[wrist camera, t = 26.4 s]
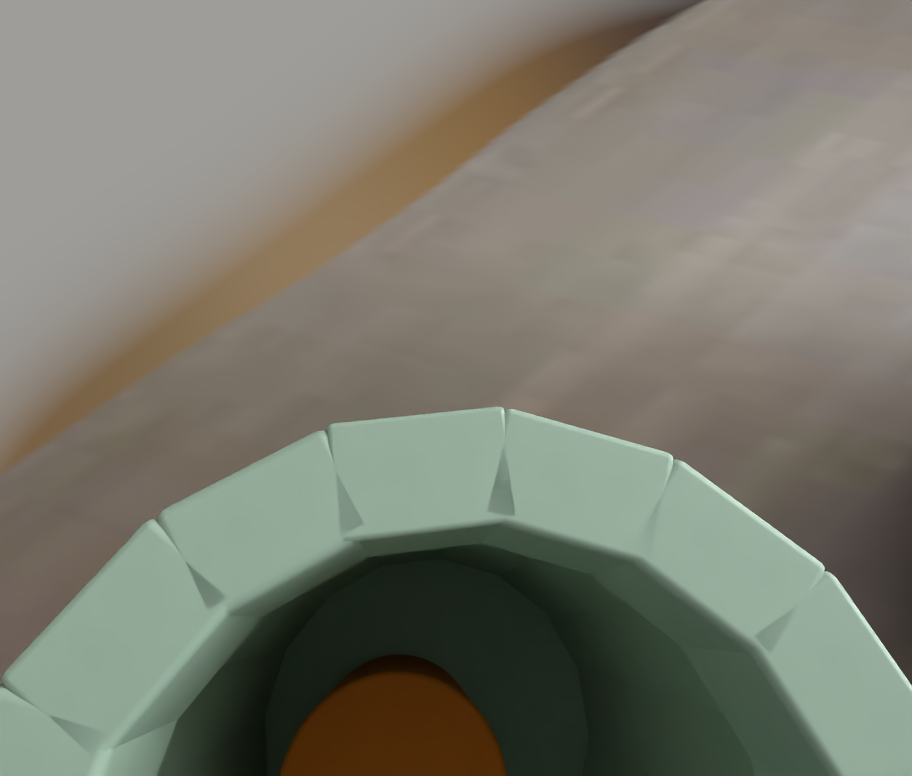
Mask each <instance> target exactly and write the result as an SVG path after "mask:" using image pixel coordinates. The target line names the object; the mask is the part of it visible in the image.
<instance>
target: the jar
mask: <svg viewBox="0 0 912 776" xmlns="http://www.w3.org/2000/svg"><path fill="white" fill-rule="evenodd" d="M824 569H825V567H824V566H823V565H822V563H821V562H820V561H818V560H817V559H816V558H814V557H813V556H812V555H810V554H809V553H807V552H806V551H805V550H803V549H802V548H801V547H799V546H798V545H796V544H795V543H794V542H792V541H791V540H790V539H788V538H787V537H786V536H784V535H783V534H781V533H780V532H779V531H777V530H776V529H775V528H773V527H772V526H771V525H769V524H768V523H766V522H765V521H764V520H762V519H761V518H760V517H758V516H757V515H756V514H754V513H753V512H751V511H750V510H749V509H747V508H746V507H745V506H743V505H742V504H741V503H739V502H738V501H736V500H735V499H734V498H732V497H731V496H730V495H728V494H727V493H726V492H724V491H723V490H721V489H720V488H719V487H717V486H716V485H715V484H713V483H712V482H710V481H709V480H708V479H706V478H705V477H704V476H702V475H701V474H700V473H698V472H697V471H695V470H694V469H693V468H691V467H690V466H689V465H687V464H686V463H685V462H683V461H680V460H676V459H675V460H673V456H672V455H670V454H669V453H667V452H664V451H660V450H657V449H653V448H650V447H646V446H642V445H639V444H635V443H632V442H628V441H625V440H621V439H618V438H614V437H610V436H607V435H603V434H600V433H596V432H593V431H589V430H586V429H582V428H578V427H575V426H571V425H568V424H564V423H561V422H557V421H554V420H550V419H546V418H543V417H539V416H536V415H532V414H529V413H525V412H521V411H518V410H514V409H507V410H505V411H504V409H503V408H501V407H489V408H480V409H470V410H460V411H450V412H441V413H431V414H421V415H412V416H402V417H392V418H382V419H373V420H363V421H353V422H343V423H334V424H331V425H329V426H328V427H327V430H326V431H315V432H313V433H311V434H309V435H308V436H306V437H304V438H302V439H300V440H298V441H296V442H294V443H292V444H290V445H288V446H286V447H284V448H282V449H280V450H278V451H276V452H274V453H272V454H270V455H268V456H266V457H264V458H263V459H261V460H259V461H257V462H255V463H253V464H251V465H249V466H247V467H245V468H243V469H241V470H239V471H237V472H235V473H233V474H231V475H229V476H227V477H225V478H223V479H221V480H219V481H218V482H216V483H214V484H212V485H210V486H208V487H206V488H204V489H202V490H200V491H198V492H196V493H194V494H192V495H190V496H188V497H186V498H184V499H182V500H180V501H178V502H176V503H175V504H173V505H171V506H169V507H167V508H165V509H164V510H163V511H162V512H161V513H160V514H159V515H158V520H154V519H151V520H149V521H147V522H145V523H144V524H143V525H142V526H141V527H140V528H139V529H138V530H137V531H136V532H135V533H134V534H133V535H132V536H131V537H130V539H129V540H128V541H127V542H126V543H125V544H124V545H123V546H122V547H121V548H120V549H119V550H118V551H117V552H116V553H115V555H114V556H113V557H112V558H111V559H110V560H109V561H108V562H107V563H106V564H105V565H104V566H103V567H102V568H101V570H100V571H99V572H98V573H97V574H96V575H95V576H94V577H93V578H92V579H91V580H90V581H89V582H88V583H87V584H86V586H85V587H84V588H83V589H82V590H81V591H80V592H79V593H78V594H77V595H76V596H75V597H74V598H73V599H72V600H71V602H70V603H69V604H68V605H67V606H66V607H65V608H64V609H63V610H62V611H61V612H60V613H59V614H58V615H57V616H56V618H55V619H54V620H53V621H52V622H51V623H50V624H49V625H48V626H47V627H46V628H45V629H44V630H43V631H42V632H41V634H40V635H39V636H38V637H37V638H36V639H35V640H34V641H33V642H32V643H31V644H30V645H29V646H28V647H27V648H26V650H25V651H24V652H23V653H22V654H21V655H20V656H19V657H18V658H17V659H16V660H15V661H14V662H13V663H12V664H11V666H10V667H9V668H8V669H7V670H6V671H5V673H4V675H3V677H2V678H1V680H2V682H3V685H0V776H280V771H281V767H282V764H283V761H284V758H285V755H286V752H287V750H288V748H289V746H290V744H291V742H292V739H293V737H294V736H295V734H296V732H297V731H298V729H299V728H300V726H301V724H302V723H303V721H304V720H305V719H306V718H307V716H308V715H309V714H310V713H311V711H312V710H313V709H314V708H315V707H316V706H317V705H318V704H319V703H320V702H321V701H322V700H323V699H324V698H325V697H326V696H327V695H328V694H329V693H330V692H331V691H332V690H333V689H334V688H335V687H336V686H337V685H338V684H339V683H340V682H341V681H342V680H343V679H344V678H345V677H346V676H347V675H348V674H349V673H351V672H352V671H353V670H354V669H356V668H357V667H359V666H361V665H362V664H364V663H366V662H368V661H371V660H373V659H375V658H379V657H383V656H387V655H396V654H397V655H411V656H417V657H420V658H423V659H426V660H428V661H430V662H433V663H435V664H436V665H438V666H439V667H441V668H442V669H444V670H445V671H446V672H447V673H449V674H450V675H451V676H452V677H453V678H454V679H455V681H456V682H457V683H458V684H459V685H460V686H461V688H462V689H463V690H464V692H465V693H466V694H467V695H468V697H469V698H470V699H471V701H472V702H473V703H474V704H475V706H476V707H477V708H478V709H479V711H480V712H481V713H482V715H483V716H484V718H485V719H486V721H487V722H488V724H489V725H490V727H491V729H492V731H493V733H494V735H495V737H496V739H497V741H498V744H499V747H500V749H501V752H502V755H503V759H504V763H505V768H506V772H507V776H912V685H911V684H910V682H909V681H908V680H907V678H906V677H905V675H904V674H903V672H902V671H901V670H900V668H899V667H898V665H897V664H896V662H895V661H894V660H893V658H892V657H891V655H890V654H889V652H888V651H887V650H886V648H885V647H884V645H883V644H882V642H881V641H880V640H879V638H878V637H877V635H876V634H875V632H874V631H873V630H872V628H871V627H870V625H869V624H868V622H867V621H866V620H865V618H864V617H863V615H862V614H861V612H860V611H859V610H858V608H857V607H856V605H855V604H854V602H853V601H852V600H851V598H850V597H849V595H848V594H847V592H846V591H845V590H844V588H843V587H842V585H841V584H840V582H839V581H838V580H837V578H836V577H835V576H834V575H832V574H831V573H830V572H827V571H826V572H824Z"/></svg>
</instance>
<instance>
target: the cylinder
mask: <svg viewBox="0 0 912 776" xmlns="http://www.w3.org/2000/svg"><path fill="white" fill-rule="evenodd" d="M280 776H507V772H506V768H505V763H504V759H503V755H502V752H501V749H500V747H499V744H498V741H497V739H496V737H495V735H494V733H493V731H492V729H491V727H490V725H489V724H488V722H487V721H486V719H485V718H484V716H483V715H482V713H481V712H480V711H479V709H478V708H477V707H476V706H475V704H474V703H473V702H472V701H471V699H470V698H469V697H468V695H467V694H466V693H465V692H464V690H463V689H462V688H461V686H460V685H459V684H458V683H457V682H456V681H455V679H454V678H453V677H452V676H451V675H450V674H449V673H447V672H446V671H445V670H444V669H442V668H441V667H439V666H438V665H436V664H435V663H433V662H430V661H428V660H426V659H423V658H420V657H417V656H411V655H397V654H396V655H387V656H383V657H379V658H375V659H373V660H371V661H368V662H366V663H364V664H362V665H361V666H359V667H357V668H356V669H354V670H353V671H352V672H351V673H349V674H348V675H347V676H346V677H345V678H344V679H343V680H342V681H341V682H340V683H339V684H338V685H337V686H336V687H335V688H334V689H333V690H332V691H331V692H330V693H329V694H328V695H327V696H326V697H325V698H324V699H323V700H322V701H321V702H320V703H319V704H318V705H317V706H316V707H315V708H314V709H313V710H312V711H311V713H310V714H309V715H308V716H307V718H306V719H305V720H304V721H303V723H302V724H301V726H300V728H299V729H298V731H297V732H296V734H295V736H294V737H293V739H292V742H291V744H290V746H289V748H288V750H287V752H286V755H285V758H284V761H283V764H282V767H281V771H280Z"/></svg>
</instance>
